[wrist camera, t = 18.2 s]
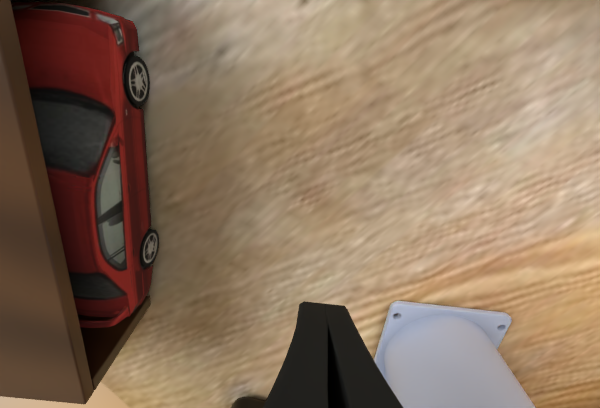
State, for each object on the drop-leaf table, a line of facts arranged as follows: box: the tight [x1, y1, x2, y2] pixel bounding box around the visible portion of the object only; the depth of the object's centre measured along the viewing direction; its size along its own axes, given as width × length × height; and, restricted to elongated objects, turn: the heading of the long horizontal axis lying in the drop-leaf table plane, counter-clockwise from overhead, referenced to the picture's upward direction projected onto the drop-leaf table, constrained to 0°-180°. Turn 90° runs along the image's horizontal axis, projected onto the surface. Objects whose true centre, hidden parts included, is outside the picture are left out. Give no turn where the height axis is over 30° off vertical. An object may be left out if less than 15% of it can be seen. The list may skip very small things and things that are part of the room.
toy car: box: [12, 2, 159, 328], centre depth 15 cm, size 6×15×5 cm, turn 169°
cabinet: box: [0, 0, 150, 404], centre depth 14 cm, size 20×8×7 cm, turn 173°
